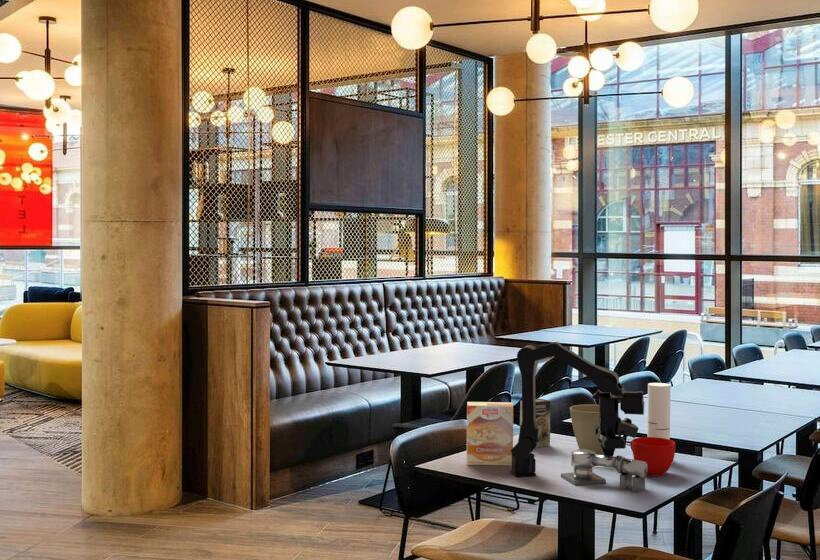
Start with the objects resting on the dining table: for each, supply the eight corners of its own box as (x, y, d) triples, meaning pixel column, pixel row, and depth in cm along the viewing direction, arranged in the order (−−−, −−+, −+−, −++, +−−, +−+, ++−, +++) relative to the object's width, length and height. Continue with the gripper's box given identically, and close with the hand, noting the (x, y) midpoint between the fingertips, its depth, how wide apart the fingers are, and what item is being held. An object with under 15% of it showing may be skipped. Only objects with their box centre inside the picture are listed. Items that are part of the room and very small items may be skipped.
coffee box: (530, 448, 306) (530, 402, 306) (519, 445, 312) (519, 399, 311) (550, 445, 311) (551, 400, 310) (539, 442, 316) (539, 397, 316)
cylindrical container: (652, 456, 295) (653, 382, 294) (673, 459, 291) (673, 384, 290) (643, 460, 290) (644, 384, 289) (664, 463, 285) (665, 386, 284)
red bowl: (647, 463, 285) (647, 433, 285) (684, 476, 270) (684, 443, 270) (615, 468, 280) (615, 436, 279) (650, 480, 265) (651, 447, 264)
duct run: (616, 488, 256) (616, 458, 256) (623, 485, 260) (624, 455, 260) (640, 493, 251) (640, 462, 251) (647, 489, 255) (648, 459, 255)
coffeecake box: (466, 465, 284) (466, 405, 283) (466, 459, 291) (466, 401, 290) (513, 465, 283) (513, 405, 282) (512, 460, 290) (512, 401, 289)
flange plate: (575, 485, 260) (575, 471, 260) (560, 476, 269) (560, 463, 269) (605, 482, 262) (606, 469, 262) (590, 474, 272) (590, 461, 272)
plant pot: (612, 450, 304) (613, 404, 303) (616, 461, 289) (616, 412, 288) (568, 449, 306) (568, 403, 305) (570, 459, 291) (570, 411, 290)
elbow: (567, 467, 264) (567, 452, 264) (575, 462, 271) (575, 447, 270) (617, 473, 257) (617, 458, 257) (624, 468, 263) (624, 453, 263)
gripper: (643, 420, 254) (643, 473, 255) (629, 405, 273) (629, 454, 274) (604, 420, 254) (604, 473, 256) (593, 406, 273) (593, 455, 274)
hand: (609, 464), depth 265 cm, fingers closed
